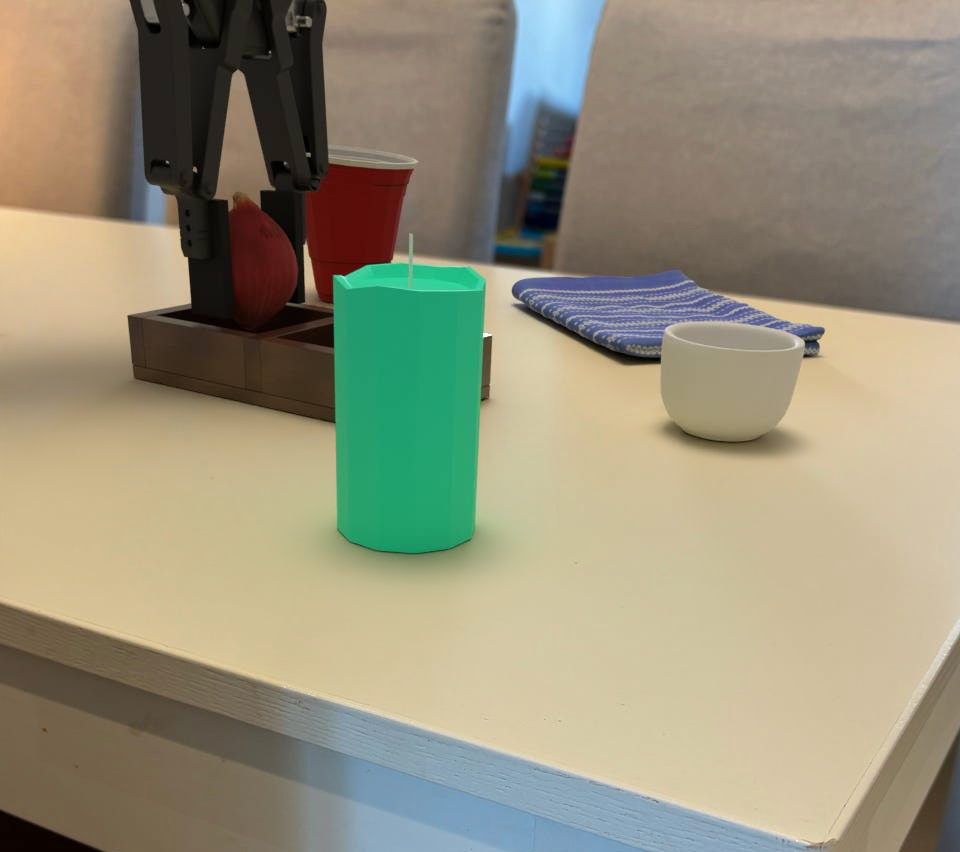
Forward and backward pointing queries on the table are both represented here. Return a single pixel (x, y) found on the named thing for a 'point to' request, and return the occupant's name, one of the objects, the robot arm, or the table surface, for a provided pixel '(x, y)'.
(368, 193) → the plastic cup
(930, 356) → the table surface
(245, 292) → the onion
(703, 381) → the teacup
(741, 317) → the dish towel
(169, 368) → the tray
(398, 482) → the candle
